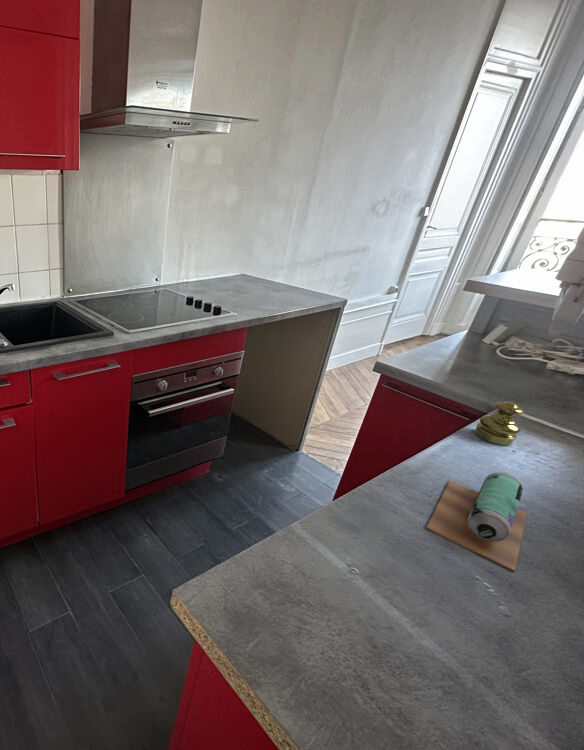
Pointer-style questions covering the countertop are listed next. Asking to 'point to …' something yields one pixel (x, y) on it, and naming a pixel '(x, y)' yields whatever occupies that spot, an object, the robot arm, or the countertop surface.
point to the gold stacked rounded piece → (500, 424)
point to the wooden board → (454, 527)
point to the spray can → (495, 507)
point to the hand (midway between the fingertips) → (552, 334)
